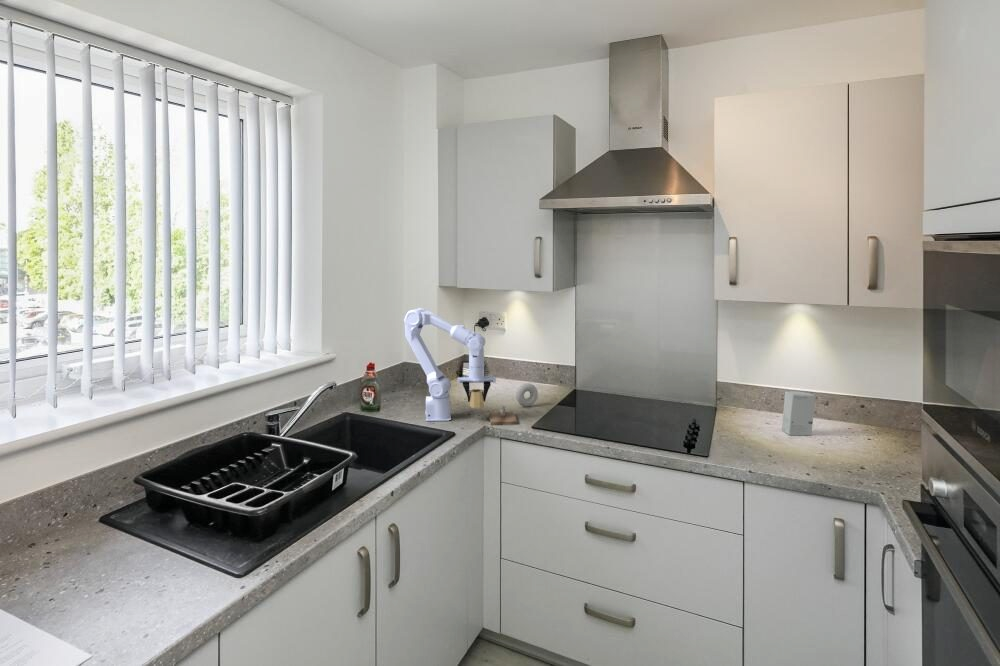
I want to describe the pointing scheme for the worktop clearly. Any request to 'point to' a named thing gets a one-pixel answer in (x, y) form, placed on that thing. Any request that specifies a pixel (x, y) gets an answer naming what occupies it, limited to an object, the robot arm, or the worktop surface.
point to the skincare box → (798, 413)
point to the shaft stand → (502, 417)
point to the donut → (520, 395)
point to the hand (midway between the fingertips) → (476, 401)
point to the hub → (476, 398)
